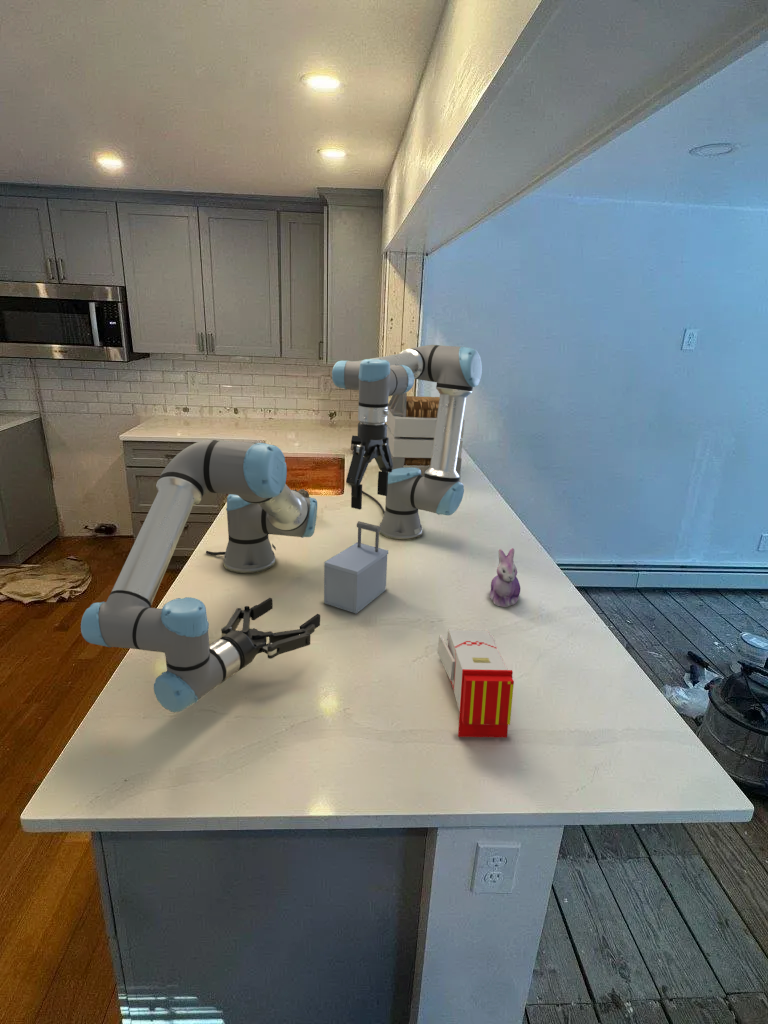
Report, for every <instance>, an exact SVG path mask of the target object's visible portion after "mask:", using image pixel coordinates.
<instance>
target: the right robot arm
mask: <svg viewBox="0 0 768 1024" xmlns="http://www.w3.org/2000/svg"><path fill="white" fill-rule="evenodd" d="M482 375H483V364H482V359H481V355H480V354H479V352H478V350H476V349H475V348H472V347H467V346H455V345H441V344H440V345H438V344H426V345H421V346H416V347H411V348H406V349H403V350H402V351H400V352H399V353H396V354H391V355H385V356H379V357H373V358H365V359H360V360H355V361H353V360H338V361H337V362H335V363H334V365H333V367H332V370H331V380H332V382H333V384H334V385H335V386H336V387H337V388H339V389H344V390H351V391H352V390H353V391H358V404H357V405H358V408H357V421H358V423H357V436H358V437H359V438H361V440H362V443H361V445H354V450H353V451H354V452H353V451H352V457H351V461H350V465H349V468H348V471H347V475H346V479H345V483H346V484H348V485H349V486H351V487H350V489H351V490H350V492H351V493H350V497H351V498H350V508H351V509H356V510H362V509H363V508H362V507H363V506H362V505H363V495H365V496H366V497H367V498H370V499H371V500H372V501H374V502H375V503H376V504H377V505H378V506H379V508H380V510H381V511H382V514H383V515H382V519H381V522H379V526H380V527H381V530H380V532H379V535H381V536H382V537H385V538H387V539H389V540H395V541H410V540H415V539H418V538H420V537H421V536H422V535H423V525H422V524H421V518H420V515H419V510H420V511H425V512H429V513H433V514H436V515H438V516H439V515H442V516H447V517H448V516H452V515H453V514H454V513H456V511H457V510H458V509H459V508H460V505H461V503H462V500H463V497H464V493H465V488H464V487H465V486H464V483H462V482H461V481H460V482H459V475H458V473H457V472H456V465H457V458H458V452H459V445H460V439H462V438H461V431H462V425H463V419H464V417H465V411H466V404H467V398H468V397H469V396H470V395H471V394H472V393H473V389H474V388H475V387H477V386H479V384H480V383H481V379H482ZM415 380H418V381H419V380H420V381H425V382H432V383H436V386H435V389H436V390H437V392H438V393H439V397H440V398H439V405H438V413H437V420H436V427H435V434H434V442H433V449H432V456H431V463H430V466H428V468H427V469H426V470H424V474H422V470H421V468H419V467H413V466H411V467H409V466H406V467H404V468H397V469H393V470H392V469H391V468H393V462H392V458H391V453H390V449H389V438H388V437H387V423H386V422H387V415H388V403H389V397H392V396H393V395H401V394H403V393H405V392H406V393H408V392H409V391H410V390H411V389H412V388H413V387H414V385H415ZM372 460H375V462H376V465H377V466H378V468H379V471H377V493H376V494H377V495H378V496H383V497H385V504H384V505H385V507H384V508H385V509H384V508H383V506H382V504H381V503H380V502H379V501H378V500H377V499H376V498H375V497H373V496H372V495H371V494H369V493H367V492H365V491H364V490H363V484H361V483H362V481H363V478H364V476H365V473H366V471H367V468H368V466H369V463H371V462H372ZM387 462H388V463H387Z"/></svg>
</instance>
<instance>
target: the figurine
mask: <svg viewBox="0 0 768 1024" xmlns="http://www.w3.org/2000/svg"><path fill="white" fill-rule="evenodd" d="M514 558H515V548H514V547H512V548H511V549H509V551H508V553H507V555H506V554H505V551H503V549H501V548H499V549H498V565H497V568H496V574H497V575H495V576H494V577H493V578H492V579H491V582H490V591H489V599H490V600H491V601H492V602H493V604H494V605H495V606H497V607H503V608H507V607H510V606H514V605H516V603H518V601H519V597H520V594H521V584H520V581H519V579H518V577H517V576H518V569H517V567H516V564H515V561H514Z"/></svg>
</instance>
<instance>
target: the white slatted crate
mask: <svg viewBox="0 0 768 1024" xmlns="http://www.w3.org/2000/svg"><path fill="white" fill-rule="evenodd" d="M407 394H408V392H405V393H403V394H401V395H393V396H391V398H390V400H388V415H387V422H385V423H386V424H387V437H388V438H389V449H390V453H391V458H392V462H393V468H391V469H392V470H393V469H397V468H405V466H406V467H409V466H411V467H415V466H416V467H417V466H418V467H430V463H431V456H432V449H433V442H434V434H435V427H436V420H437V413H438V405H439V398H440V396H415V395H414V396H413V395H412V396H411V395H407ZM464 429H465V419H464V418H463V425H462V431H461V438H460V445H459V452H458V458H457V465H456V472H457V473H458V475H459V482H461V472H462V461H463V460H462V453H463V442H464V441H463V440H462V439H463V438H464V431H465V430H464ZM387 463H388V462H387Z"/></svg>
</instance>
